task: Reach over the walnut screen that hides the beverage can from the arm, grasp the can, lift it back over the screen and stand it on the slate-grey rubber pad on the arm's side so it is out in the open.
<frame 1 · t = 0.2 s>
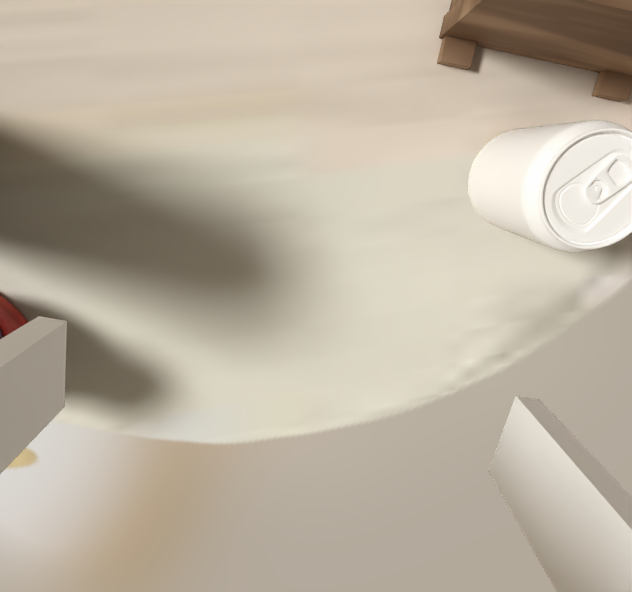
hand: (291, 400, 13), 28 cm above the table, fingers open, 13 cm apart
beverage can: (511, 179, 39), on the table
screen: (539, 48, 35), on the table
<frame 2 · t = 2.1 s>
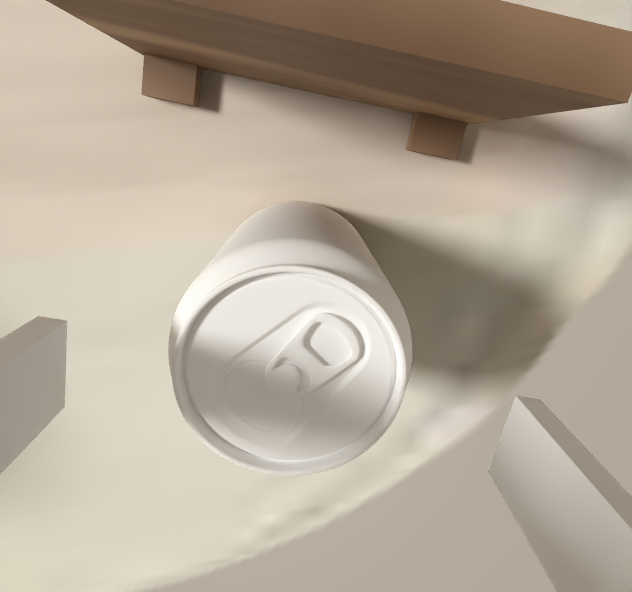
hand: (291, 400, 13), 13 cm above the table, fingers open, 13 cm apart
beverage can: (297, 272, 25), on the table
screen: (313, 74, 22), on the table
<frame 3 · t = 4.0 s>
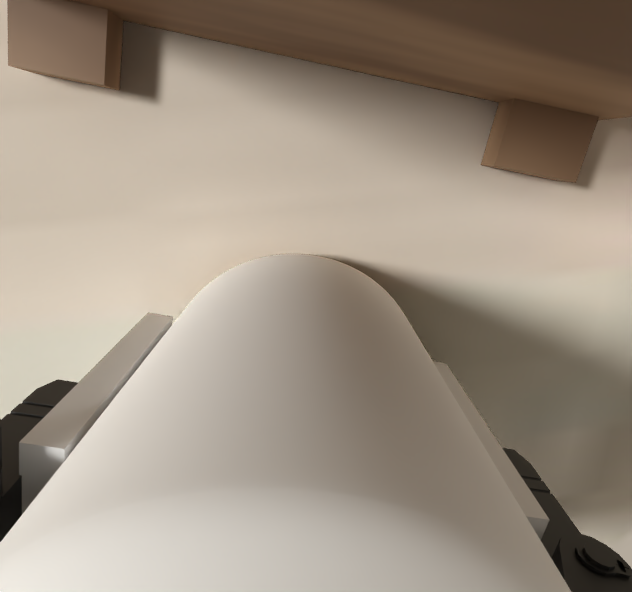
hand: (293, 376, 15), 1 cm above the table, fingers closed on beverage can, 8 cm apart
beverage can: (295, 363, 15), on the table, touching gripper
screen: (322, 32, 12), on the table
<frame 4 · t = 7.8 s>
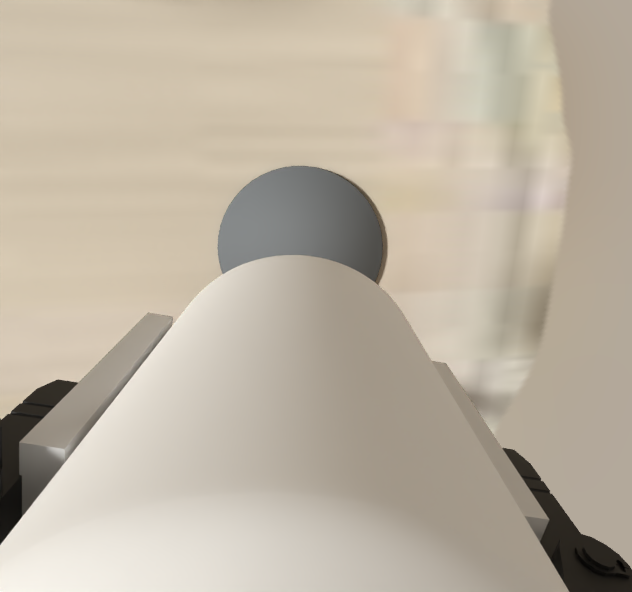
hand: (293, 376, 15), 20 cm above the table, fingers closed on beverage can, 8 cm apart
beverage can: (294, 364, 15), point 19 cm above the table, touching gripper
pad: (300, 250, 33), on the table
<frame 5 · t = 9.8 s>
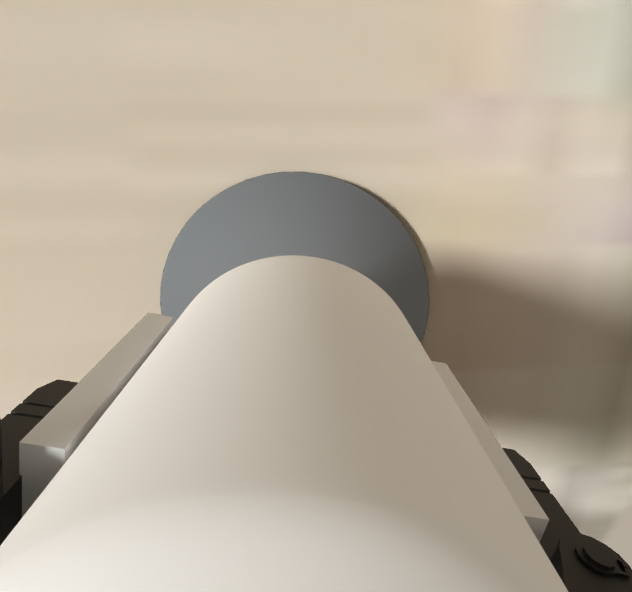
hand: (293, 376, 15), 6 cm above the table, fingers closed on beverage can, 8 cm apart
beverage can: (294, 364, 15), point 5 cm above the table, touching gripper
pad: (295, 307, 21), on the table
when the fingers open (2 cm above the table, at t = 11.6 s): beverage can drops 1 cm, resting on pad.
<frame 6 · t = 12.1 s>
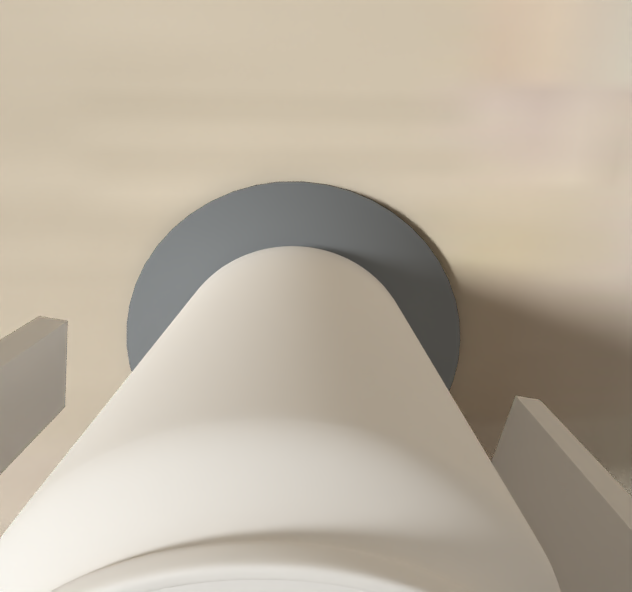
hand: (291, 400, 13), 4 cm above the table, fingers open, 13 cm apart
beverage can: (294, 350, 16), resting on pad
pad: (294, 348, 17), on the table
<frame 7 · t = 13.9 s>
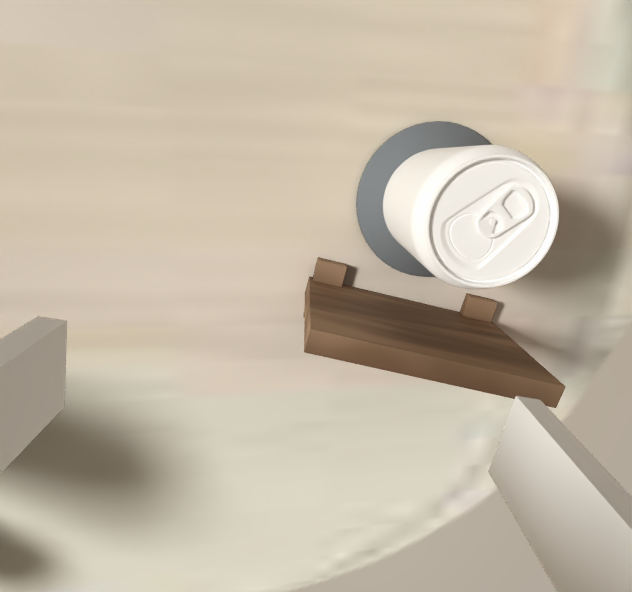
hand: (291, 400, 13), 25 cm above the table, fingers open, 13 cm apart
beverage can: (431, 202, 36), resting on pad
screen: (398, 306, 38), on the table
pad: (431, 202, 36), on the table
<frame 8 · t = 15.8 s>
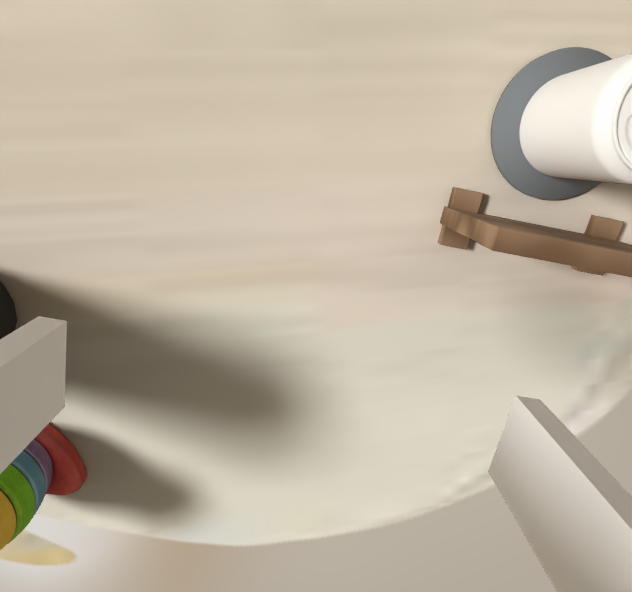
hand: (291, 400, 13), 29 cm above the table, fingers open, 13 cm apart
beverage can: (562, 127, 38), resting on pad
screen: (526, 231, 41), on the table
pad: (561, 127, 38), on the table
stacking bear: (28, 452, 47), on the table
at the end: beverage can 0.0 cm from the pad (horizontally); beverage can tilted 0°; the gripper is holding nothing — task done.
